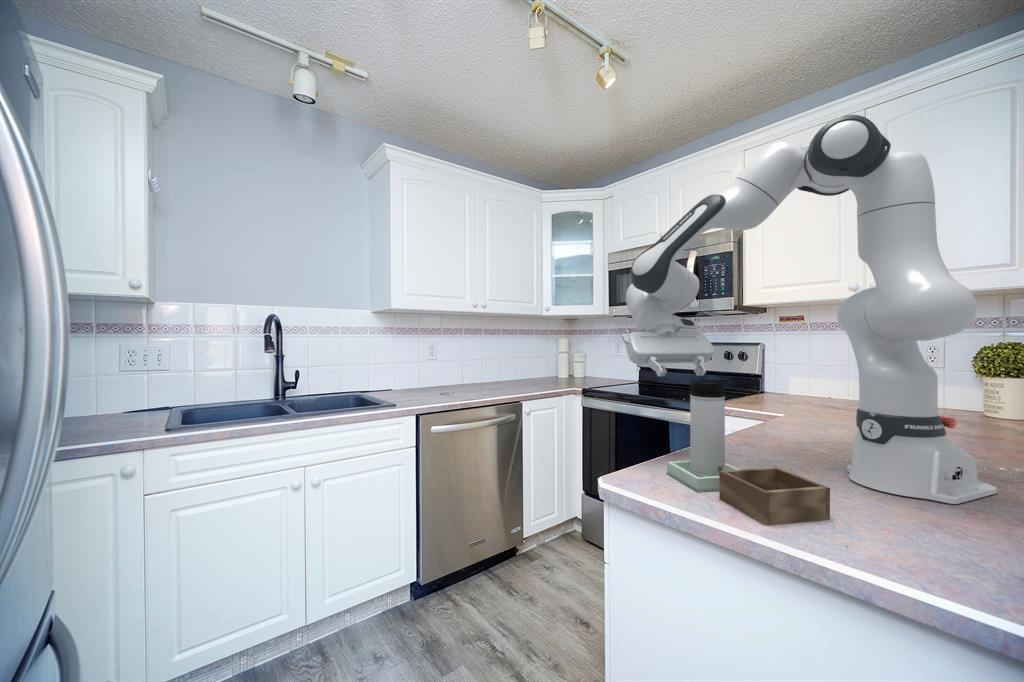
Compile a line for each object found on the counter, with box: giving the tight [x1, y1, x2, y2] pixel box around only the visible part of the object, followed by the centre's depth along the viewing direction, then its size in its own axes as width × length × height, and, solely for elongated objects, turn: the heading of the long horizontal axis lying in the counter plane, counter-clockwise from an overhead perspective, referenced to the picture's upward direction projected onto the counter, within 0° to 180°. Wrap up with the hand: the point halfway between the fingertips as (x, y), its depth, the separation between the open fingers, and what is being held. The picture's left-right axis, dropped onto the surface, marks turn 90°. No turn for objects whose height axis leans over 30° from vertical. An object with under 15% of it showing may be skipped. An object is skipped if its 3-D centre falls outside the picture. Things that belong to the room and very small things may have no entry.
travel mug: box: [689, 378, 728, 477], centre depth 83 cm, size 6×7×20 cm
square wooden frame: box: [718, 466, 831, 526], centre depth 69 cm, size 12×11×5 cm
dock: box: [666, 460, 740, 493], centre depth 83 cm, size 12×11×2 cm
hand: (682, 374), depth 91 cm, fingers open, 8 cm apart
